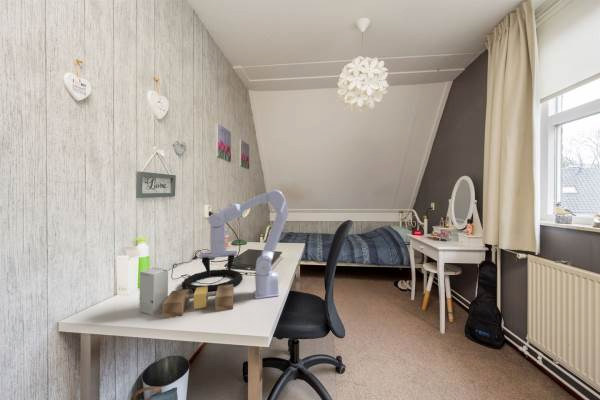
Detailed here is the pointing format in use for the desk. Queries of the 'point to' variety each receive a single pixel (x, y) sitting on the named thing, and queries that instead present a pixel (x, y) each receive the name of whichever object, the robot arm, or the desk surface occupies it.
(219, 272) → the cable lock
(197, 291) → the yellow block
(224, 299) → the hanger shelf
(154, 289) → the skincare box
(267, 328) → the desk surface
